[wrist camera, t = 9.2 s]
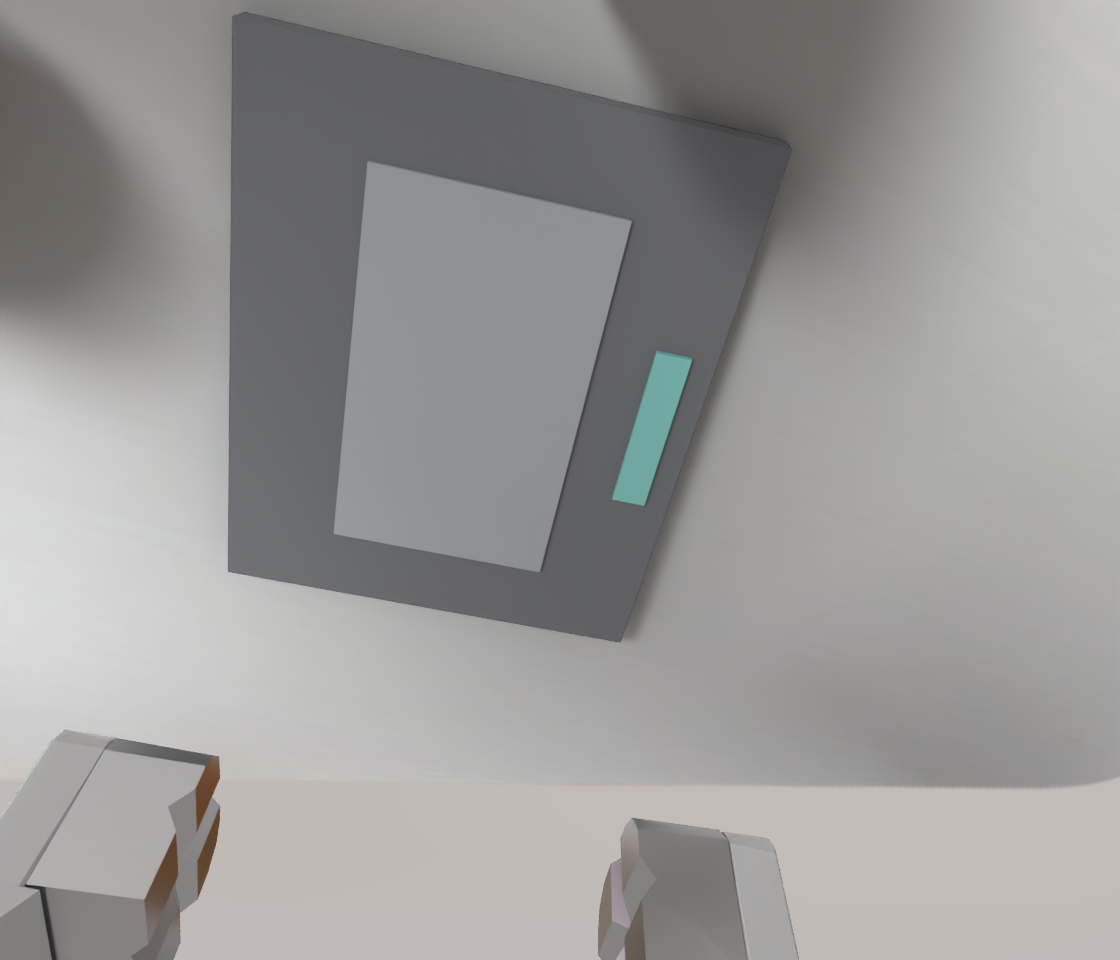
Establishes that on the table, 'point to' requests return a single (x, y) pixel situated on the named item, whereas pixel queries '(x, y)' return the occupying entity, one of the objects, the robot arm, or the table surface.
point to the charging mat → (469, 325)
